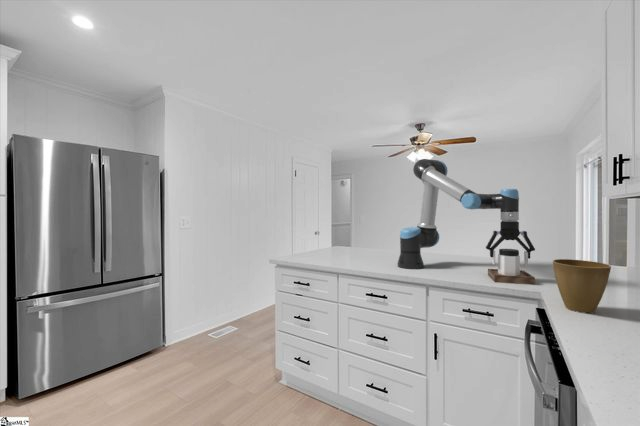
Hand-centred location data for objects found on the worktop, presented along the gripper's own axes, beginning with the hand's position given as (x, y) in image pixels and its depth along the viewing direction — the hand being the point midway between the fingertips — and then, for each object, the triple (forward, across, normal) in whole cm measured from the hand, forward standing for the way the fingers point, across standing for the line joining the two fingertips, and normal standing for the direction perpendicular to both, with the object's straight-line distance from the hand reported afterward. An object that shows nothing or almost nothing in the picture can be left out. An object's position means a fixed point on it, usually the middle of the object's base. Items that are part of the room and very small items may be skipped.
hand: (509, 264), depth 145 cm
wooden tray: (+7, 0, 0) cm, 7 cm away
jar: (+5, 0, 0) cm, 5 cm away
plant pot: (+7, +11, -42) cm, 44 cm away
